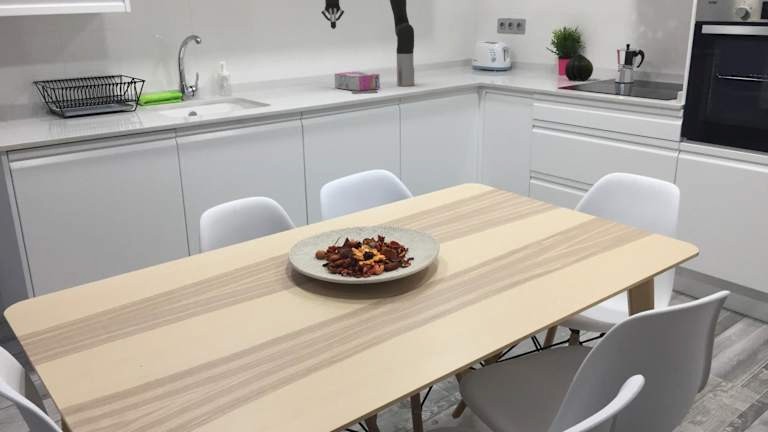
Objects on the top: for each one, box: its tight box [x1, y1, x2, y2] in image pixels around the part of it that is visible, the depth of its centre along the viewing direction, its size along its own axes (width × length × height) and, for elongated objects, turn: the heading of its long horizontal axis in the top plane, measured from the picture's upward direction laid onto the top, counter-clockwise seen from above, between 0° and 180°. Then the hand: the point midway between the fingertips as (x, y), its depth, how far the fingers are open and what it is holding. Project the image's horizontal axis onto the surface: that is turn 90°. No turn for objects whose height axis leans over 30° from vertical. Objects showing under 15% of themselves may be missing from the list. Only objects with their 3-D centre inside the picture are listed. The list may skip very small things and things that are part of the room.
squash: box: [564, 53, 594, 82], centre depth 379 cm, size 14×15×15 cm
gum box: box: [334, 71, 381, 91], centre depth 368 cm, size 24×8×14 cm
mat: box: [350, 89, 378, 95], centre depth 364 cm, size 13×26×1 cm, turn 6°
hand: (333, 28), depth 372 cm, fingers closed
